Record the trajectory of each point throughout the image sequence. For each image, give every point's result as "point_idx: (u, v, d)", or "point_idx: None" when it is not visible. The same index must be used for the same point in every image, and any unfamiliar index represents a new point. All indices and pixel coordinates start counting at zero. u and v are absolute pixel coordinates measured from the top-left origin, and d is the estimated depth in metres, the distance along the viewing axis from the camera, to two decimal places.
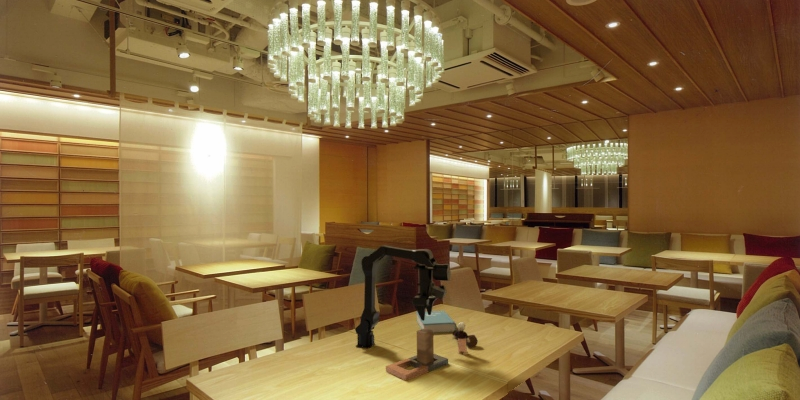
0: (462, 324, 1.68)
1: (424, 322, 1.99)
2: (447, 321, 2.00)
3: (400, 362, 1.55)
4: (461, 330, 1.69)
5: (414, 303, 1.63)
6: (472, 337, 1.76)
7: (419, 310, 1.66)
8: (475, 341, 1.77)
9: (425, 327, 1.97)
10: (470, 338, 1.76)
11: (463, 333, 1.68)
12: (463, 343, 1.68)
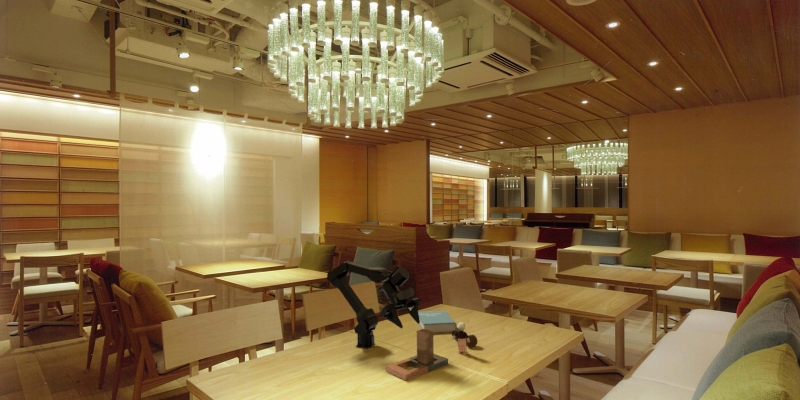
0: (462, 324, 1.68)
1: (424, 322, 1.99)
2: (447, 321, 2.00)
3: (400, 362, 1.55)
4: (461, 330, 1.69)
5: (381, 315, 1.63)
6: (472, 337, 1.76)
7: (393, 320, 1.63)
8: (475, 341, 1.77)
9: (425, 327, 1.97)
10: (470, 338, 1.76)
11: (463, 333, 1.68)
12: (463, 343, 1.68)
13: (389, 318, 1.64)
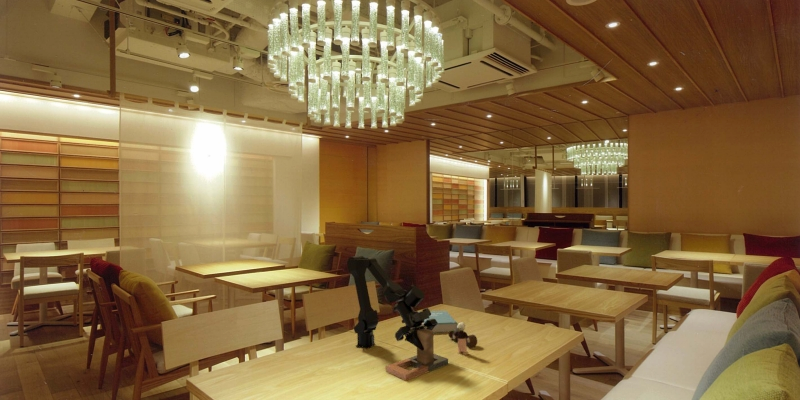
0: (462, 324, 1.68)
1: None
2: (449, 321, 2.00)
3: (400, 362, 1.55)
4: (461, 330, 1.69)
5: (397, 338, 1.56)
6: (472, 337, 1.76)
7: (413, 342, 1.57)
8: (475, 341, 1.77)
9: None
10: (471, 338, 1.76)
11: (463, 333, 1.68)
12: (463, 343, 1.68)
13: (409, 340, 1.58)
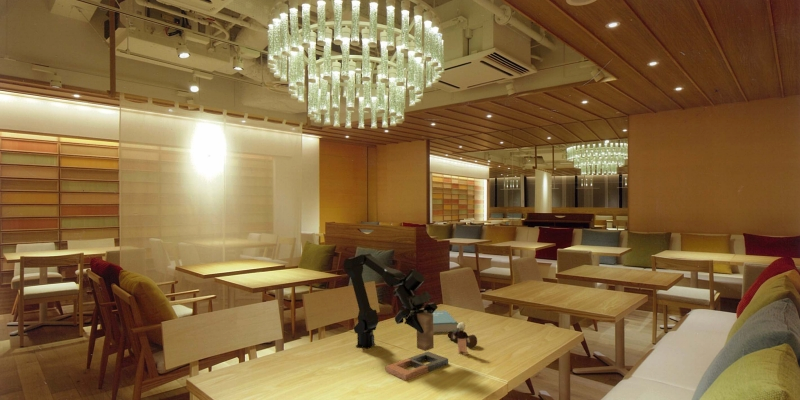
0: (462, 324, 1.68)
1: None
2: (449, 321, 2.00)
3: (400, 362, 1.55)
4: (461, 330, 1.69)
5: (397, 321, 1.56)
6: (473, 337, 1.76)
7: (413, 325, 1.57)
8: (475, 341, 1.77)
9: None
10: (471, 338, 1.76)
11: (463, 333, 1.68)
12: (463, 343, 1.68)
13: (409, 323, 1.58)
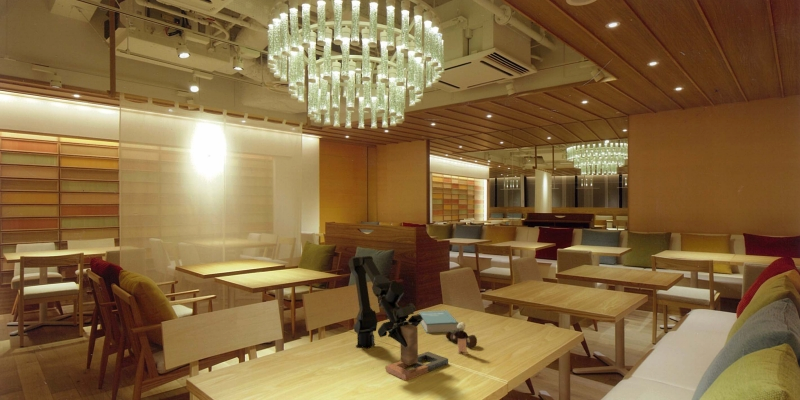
0: (462, 324, 1.68)
1: (427, 322, 1.99)
2: (450, 321, 2.00)
3: (400, 362, 1.55)
4: (461, 330, 1.69)
5: (380, 334, 1.50)
6: (473, 337, 1.76)
7: (397, 338, 1.52)
8: (475, 341, 1.77)
9: (428, 327, 1.97)
10: (471, 338, 1.75)
11: (463, 333, 1.68)
12: (463, 343, 1.68)
13: (393, 336, 1.53)
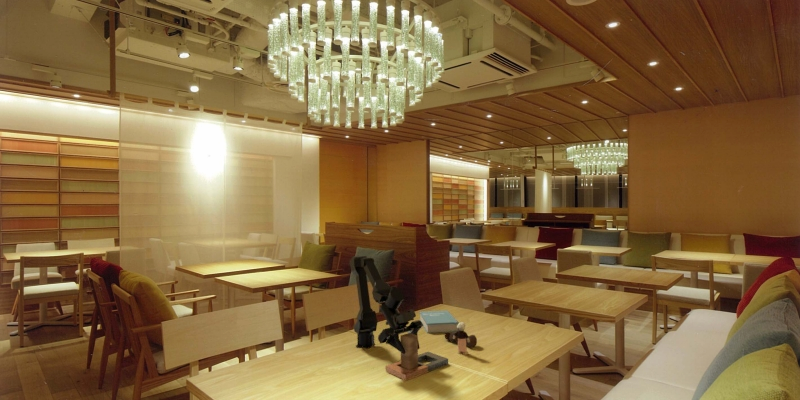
0: (462, 324, 1.68)
1: (428, 322, 1.99)
2: (451, 321, 2.00)
3: (400, 362, 1.55)
4: (461, 330, 1.69)
5: (380, 341, 1.50)
6: (473, 337, 1.76)
7: (395, 345, 1.51)
8: (475, 341, 1.77)
9: (429, 327, 1.97)
10: (472, 338, 1.75)
11: (463, 333, 1.68)
12: (463, 343, 1.68)
13: (391, 343, 1.52)
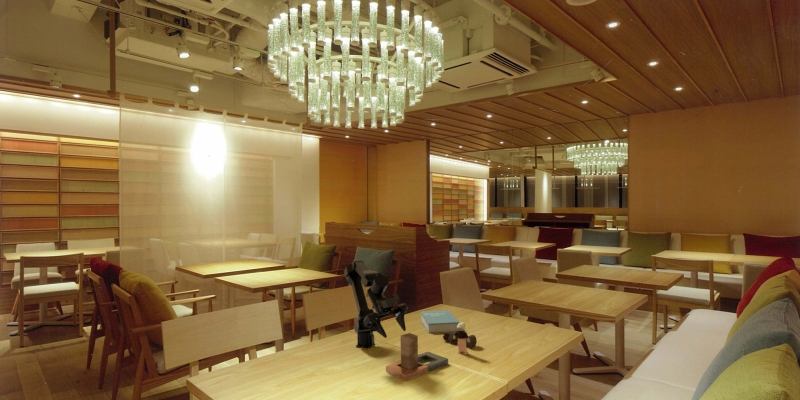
0: (462, 324, 1.68)
1: (429, 322, 1.99)
2: (452, 321, 2.00)
3: (400, 362, 1.55)
4: (461, 330, 1.69)
5: (365, 325, 1.59)
6: (473, 337, 1.76)
7: (377, 329, 1.58)
8: (475, 341, 1.77)
9: (430, 327, 1.97)
10: (472, 338, 1.75)
11: (463, 333, 1.68)
12: (463, 343, 1.68)
13: (373, 327, 1.59)
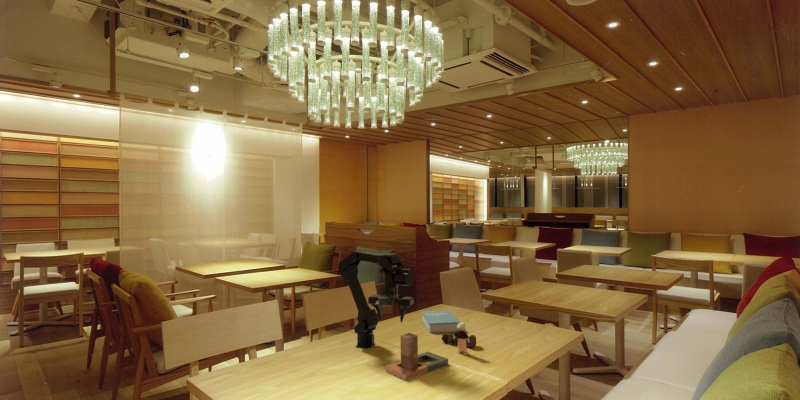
0: (462, 324, 1.68)
1: (430, 322, 1.99)
2: (453, 321, 2.00)
3: (400, 362, 1.55)
4: (461, 330, 1.69)
5: None
6: (473, 337, 1.76)
7: None
8: (475, 341, 1.77)
9: (431, 327, 1.97)
10: (473, 338, 1.75)
11: (463, 333, 1.68)
12: (463, 343, 1.68)
13: None
